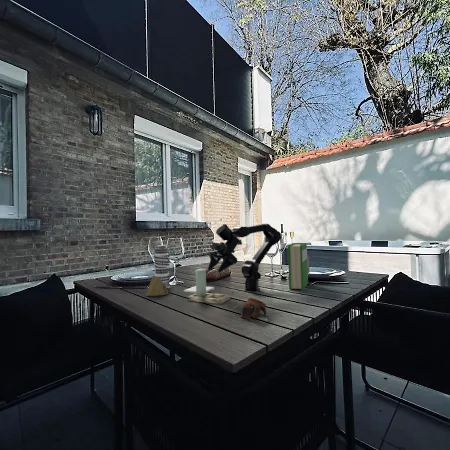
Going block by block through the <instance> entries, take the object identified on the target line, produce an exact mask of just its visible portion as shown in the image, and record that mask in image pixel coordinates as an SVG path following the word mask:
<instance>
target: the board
mask: <svg viewBox="0 0 450 450" xmlns="http://www.w3.org/2000/svg"><path fill="white" fill-rule="evenodd" d="M214 290H215V286H206V293H209V292H210V291H214ZM183 292H184V293H189V294H190V293H193V294H195V293H196V285H195V286H191V287H190V288H189V287H188V288H186V289H184V290H183Z"/></svg>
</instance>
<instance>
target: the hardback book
mask: <svg viewBox="0 0 450 450" xmlns="http://www.w3.org/2000/svg"><path fill="white" fill-rule="evenodd" d="M307 244H308V243H307V242H293V243H289V244H288V245H287V255H288V257H287V259H288V261H287V262H288V286H289V287H288V289H290V290H289V291H291V290H293V289H295V290H297V289H298V290H301V291H302V290H304V291H305V289H306V288H305V287H307V286H308V285H309V280H308V271H307V253H308V247H307V246H308V245H307ZM307 284H308V285H307Z"/></svg>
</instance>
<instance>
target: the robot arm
mask: <svg viewBox="0 0 450 450" xmlns="http://www.w3.org/2000/svg"><path fill="white" fill-rule="evenodd" d="M261 232H262V233H263V236H265V237H264V242H263V243H262V245H261V246H260V247H259V249H258V250H257V252H256V253H255V254H254V255H253V257H252V258H251V260H245V261H244V263H243V264H242V265H241V266H242V267H241V274H242V275H243V276H242V277H243V278H244V279H245V281H244V284H245V285H244V286H245V289H244V290H245V291H250V292H257V291H259V290H260V289H261V288H260V287H259V286H260V285H259V280H261V277H262V274H261V273H260V272H259V268H260V264H261V263H262V261H263V259H264V258H265V257H266V255H267V254H268V252H269V251H270V250H271V248H272V247H273V246H274V245H276V244H278V243H279V242H280V241H281V239H282V234H281V232H280V231H278V230H277V229H276V228H274V227H273V226H271V224H269V223H261V224H258V225H257V224H256V225H252V226H251V225H250V226H234V227H233V228H232V229H231V228H230V227H229V226H228V224H227V223H226V224H225V223H223V224H222V225H221V226H219V227H218V228H217V229H216V232H215V234H216V235H217V236H218V237H219V238H220V239H221V240H222V241H221V242H212V243H211V247H210V249H211V250H215V251H209V253H208V254H207V255H208V257H209V259H210V261H209V264H208V268H207V270H208V271H211V270H212V269H214V267H216V266H217V265H218V264H219V263H220V262H221V260H222V262H221V264H220V266H219V268H218V270H217V272H218V273H221V272H223V271H225V270H226V269H228V268H229V267H232V266H233V265H236V264H237V263H238V258H237V256H236V255H234V253H235V249H236V247H238V246H239V245H240V246H241V245H242V246H243V242H242V239H239V238H245V237H247V236H249V235H251V234H255V233H261ZM223 241H225V242H223Z"/></svg>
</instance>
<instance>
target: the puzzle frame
mask: <svg viewBox="0 0 450 450" xmlns="http://www.w3.org/2000/svg"><path fill="white" fill-rule="evenodd" d="M230 298H231V297H230V294H221V293H210V292H206V297H196V293H193V294H191V295H188V296H187V301H189V302H195V303H196V302H197V303H207V304H208V303H209V304H216V305H217V304H218V305H221V304H224V303H225V302H227V301H229V300H230Z"/></svg>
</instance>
